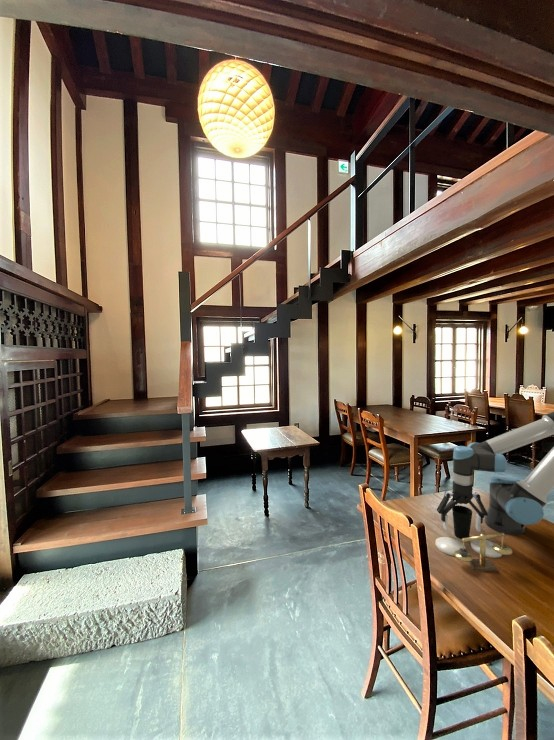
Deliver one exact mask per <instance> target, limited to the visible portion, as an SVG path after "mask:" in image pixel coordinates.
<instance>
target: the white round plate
mask: <svg viewBox="0 0 554 740" xmlns="http://www.w3.org/2000/svg"><path fill="white" fill-rule="evenodd" d="M493 544H497V543H496V542H493V541H491V540H488V539H486V553H485V558H490V559H499V558H501V557H503V554H500V553H498V552H496V551H495V550H494V549H493ZM470 548H471V549H472V550H473V552H474V553H477V554H478V555H480V540H474V541H470Z"/></svg>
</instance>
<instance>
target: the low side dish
mask: <svg viewBox="0 0 554 740" xmlns="http://www.w3.org/2000/svg"><path fill="white" fill-rule="evenodd" d="M435 548H437V550H439V551H440V552H441V553H443V554H446V555H449V556H451V557H455V555H454V552H455V551H457V550H459V548H463V542H461V541H460V540H457V539H456V538H453V537H447V536H440V537H437V538H436V539H435ZM464 549H466V550H467V548H466V546H465V545H464Z"/></svg>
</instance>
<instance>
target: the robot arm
mask: <svg viewBox="0 0 554 740" xmlns="http://www.w3.org/2000/svg"><path fill="white" fill-rule="evenodd" d="M550 436H554V411H551V412H548V413H547V414H544V415H542V417H541V419H538V420H536V421H533V422H530V423H528V424H525V425H523V426H519V427H517V428H515V429H512V430H510V431H507V432H504V433H502V434H499V435H497V436H494V437H493V438H490V439H487V440H484V441H482V442H475V441H474V442H470V443H469V444H468V445H467V446H464V445H458V446H457V445H456V446H455V447H453V453H452V455H453V456H452V465H453V466H452V492H448V491H444V496H443V498H442V499H441V501H440V503H439V505H438V507H437V508H436V512H437V513H439V514H440V520H441V521H442V527H443V529H444V530H445V531H448V525H449V524H448V521H449V519H448V517H449V516H448V515H447V514H448V513H449V512H450V511H452V508H453V507H454V506H456V505H458V504H459V505H462V504H464V505H467V504H469V506H470V507H472V508H473V510H474V511H475V512H476V514H475V526H474V527H475V528H474V529H475V530H476V531H477V532H479V533H481V527H482V526H481V525H482V524H483V523H485V524H486V526H488V527H489V528H491V529H492V530H495V531H497V532H498V533H504V534H507V535H512V536H513V535H515V536H517V535H522V534H524V533H525V532H526V531H525V529H526V525H530V526H532V525H536V524H538V523H540V522H541V521H542V519H543V518H544V516H545V514H544V507H545V506H546V505H547V504H548V500H547V496H548V495H549V494H550V493H551V492H552V491H553V490H554V446H553V447H551V449H550V450H549V451H548V452H547V454H546V455H545V456H544V457H543V458H542V459H541V460H540V461H539V462H538V464H537V465H536V466H535V467H534V468H533V469H532V471H531V472H529V474H528V475H527V476H526V477H525V478H524V480H521V479H520V478H517V477H514V476H511V475H510V476H509V475H503V474H493V475H491V476H490V478H489V498H488V500H489V501H488V502H489V503H488V504H489V505H488V508H487V509H486V508H485V506H484V505H485V504H483V502H482V500H481V495H480V494H479V493H478V492H476V491H475V492H474V493H473V487H474V486H473V481H474V480H473V477H474V471H479V472H489V473H504V472H506V471H507V468H508V463H507V462H508V461H507V459H506V457H505V456H504V454H505V453H508V452H511V451H513V450H516V449H518V448H522V447H524V446H527V445H529V444H532V443H534V442H537V441H540V440H543V439H545V438H548V437H550ZM473 498H474V500H475V501H476V503H477V504H478V507H479V508H478V507H477V506H476V505H475V504H474V502H473V501H472V500H473ZM483 521H484V522H483Z"/></svg>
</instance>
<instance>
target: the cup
mask: <svg viewBox="0 0 554 740" xmlns="http://www.w3.org/2000/svg"><path fill="white" fill-rule="evenodd" d="M451 511H452V521H453V530H454V531H453V532H454V536H455V537H456V538H457V539H459V540H462V538H469V537H470V535H471V534H470V533H471V532H470V531H471V526H472V517H473V511H472V509H471V508H470V507H468V506H466V505H465V506H464V505H460V504H459V505H458V504H457V505H455V506H454V507H453V508H452V509H451Z"/></svg>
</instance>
